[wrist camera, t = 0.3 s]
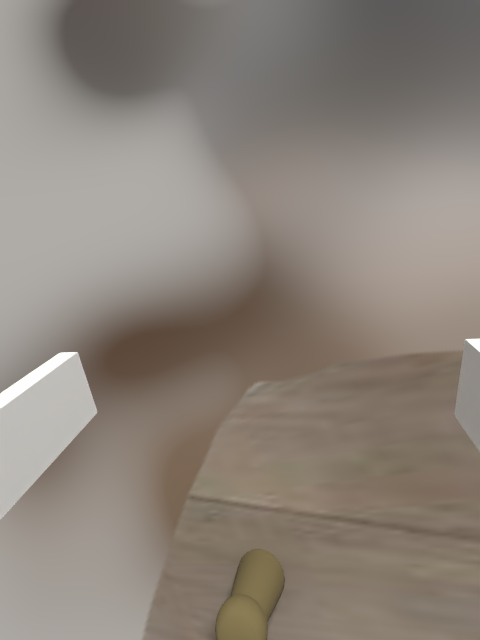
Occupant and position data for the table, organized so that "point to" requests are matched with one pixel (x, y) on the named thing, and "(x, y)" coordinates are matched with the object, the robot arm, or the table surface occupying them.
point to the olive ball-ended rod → (251, 598)
